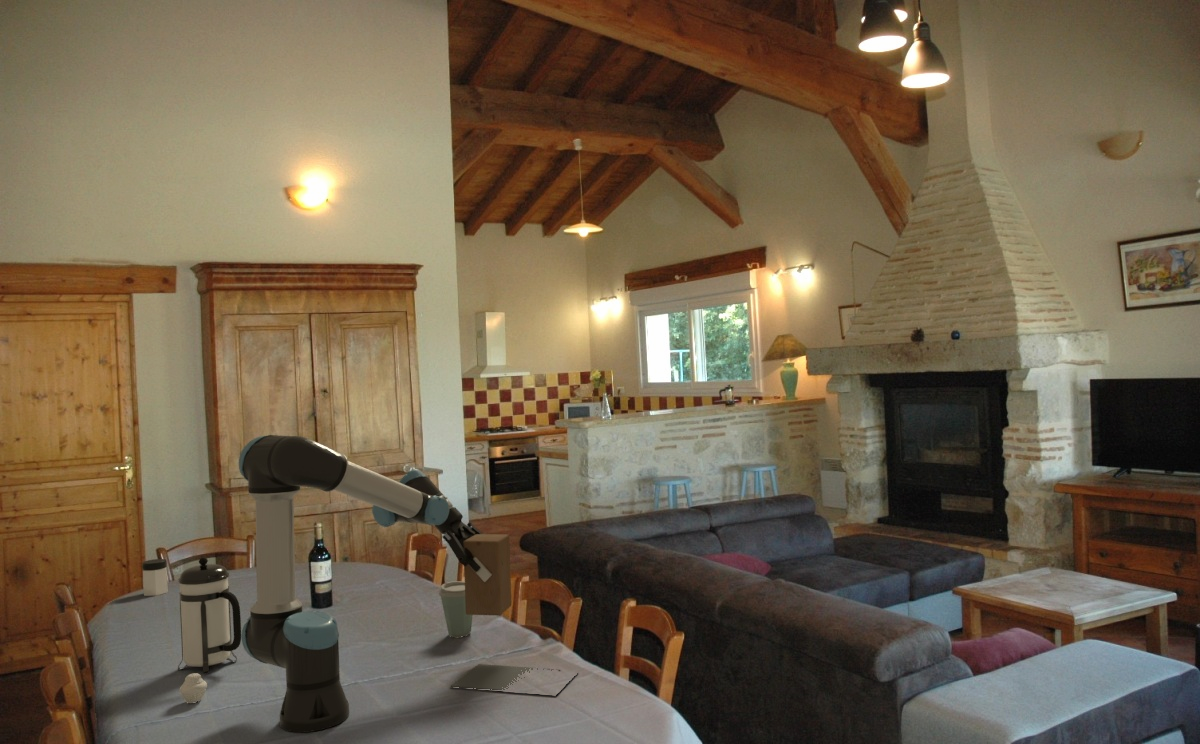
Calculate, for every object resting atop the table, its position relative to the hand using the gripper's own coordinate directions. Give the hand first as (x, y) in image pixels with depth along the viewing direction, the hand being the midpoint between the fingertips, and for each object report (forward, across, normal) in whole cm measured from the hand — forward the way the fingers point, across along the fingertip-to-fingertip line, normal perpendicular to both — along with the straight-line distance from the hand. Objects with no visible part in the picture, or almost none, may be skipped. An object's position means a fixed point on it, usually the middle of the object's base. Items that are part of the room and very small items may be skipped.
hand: (497, 573), depth 239 cm
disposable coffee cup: (+2, +16, +31) cm, 35 cm away
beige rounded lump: (-27, -45, +60) cm, 80 cm away
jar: (-96, +42, +129) cm, 167 cm away
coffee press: (-38, -22, +71) cm, 83 cm away
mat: (+24, -16, +8) cm, 30 cm away
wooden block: (+5, 0, +9) cm, 11 cm away
